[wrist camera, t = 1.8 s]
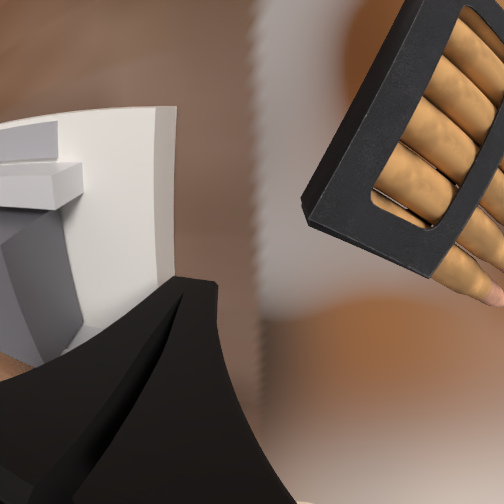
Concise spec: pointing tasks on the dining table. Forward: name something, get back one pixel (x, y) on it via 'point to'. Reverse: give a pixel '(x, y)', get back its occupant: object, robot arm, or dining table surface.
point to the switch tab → (35, 286)
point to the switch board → (100, 199)
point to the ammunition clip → (424, 149)
